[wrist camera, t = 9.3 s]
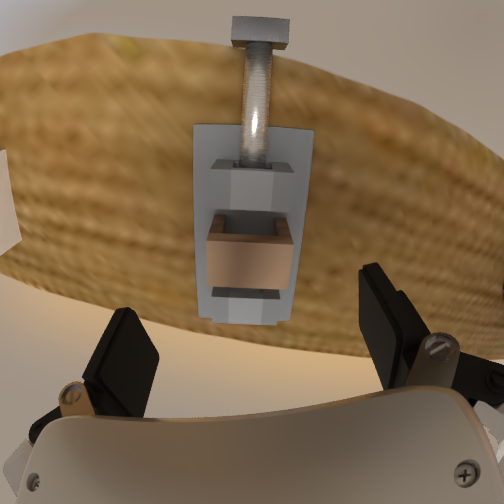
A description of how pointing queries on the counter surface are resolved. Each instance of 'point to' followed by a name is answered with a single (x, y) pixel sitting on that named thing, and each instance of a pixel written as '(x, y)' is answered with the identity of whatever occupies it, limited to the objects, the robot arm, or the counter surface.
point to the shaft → (257, 81)
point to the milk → (7, 209)
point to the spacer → (249, 257)
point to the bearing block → (248, 212)
